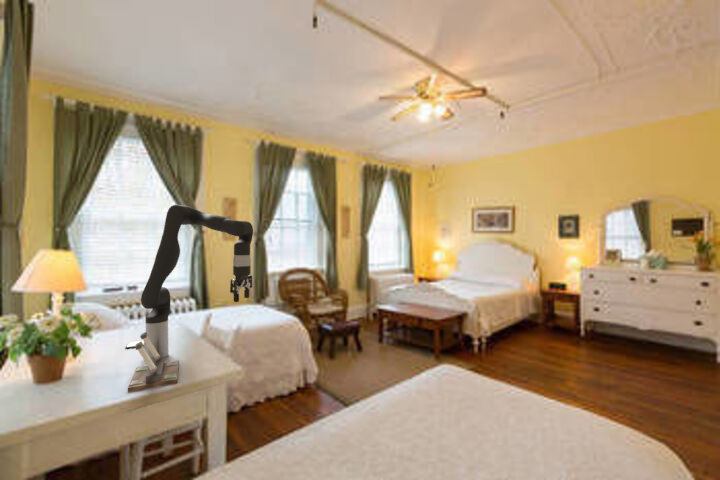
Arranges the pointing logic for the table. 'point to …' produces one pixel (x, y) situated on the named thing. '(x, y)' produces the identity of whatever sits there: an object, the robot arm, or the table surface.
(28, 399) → the table surface
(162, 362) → the switch board
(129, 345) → the phone case
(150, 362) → the lever outer
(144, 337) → the lever inner
